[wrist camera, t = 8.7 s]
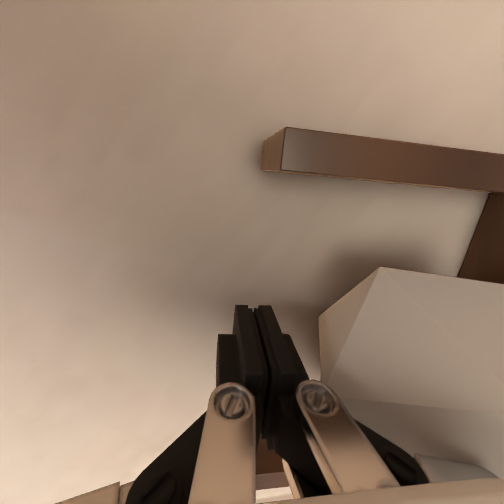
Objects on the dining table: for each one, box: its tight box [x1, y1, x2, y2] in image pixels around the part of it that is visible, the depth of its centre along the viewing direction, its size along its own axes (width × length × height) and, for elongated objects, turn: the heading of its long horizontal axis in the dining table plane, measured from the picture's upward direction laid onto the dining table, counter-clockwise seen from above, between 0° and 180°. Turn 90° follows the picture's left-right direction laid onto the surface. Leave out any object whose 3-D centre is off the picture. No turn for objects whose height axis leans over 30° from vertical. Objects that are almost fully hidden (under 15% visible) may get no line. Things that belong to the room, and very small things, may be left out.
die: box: [318, 267, 504, 478], centre depth 10 cm, size 8×9×10 cm
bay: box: [256, 127, 504, 490], centre depth 12 cm, size 13×16×4 cm
